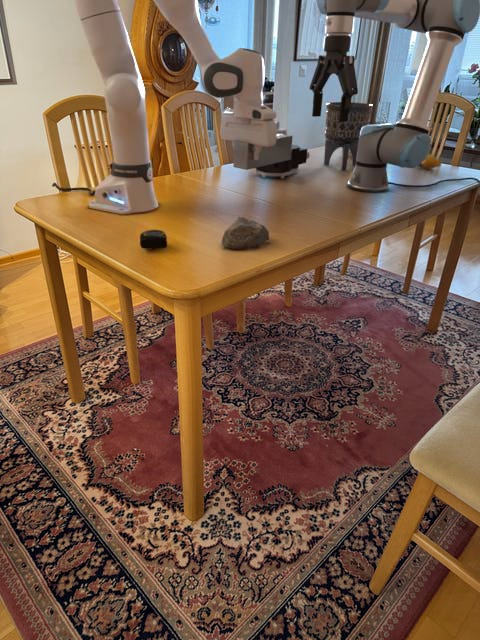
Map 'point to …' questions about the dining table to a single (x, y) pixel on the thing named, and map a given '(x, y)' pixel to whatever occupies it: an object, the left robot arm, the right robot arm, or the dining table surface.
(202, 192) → the dining table surface
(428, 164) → the toy
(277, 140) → the bar
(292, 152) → the mechanical component
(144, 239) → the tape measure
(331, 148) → the planter
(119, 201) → the left robot arm
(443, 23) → the right robot arm
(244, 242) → the rock
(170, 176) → the dining table surface
